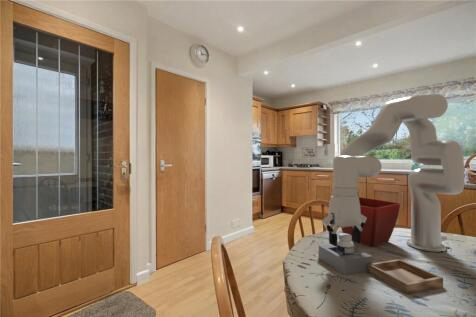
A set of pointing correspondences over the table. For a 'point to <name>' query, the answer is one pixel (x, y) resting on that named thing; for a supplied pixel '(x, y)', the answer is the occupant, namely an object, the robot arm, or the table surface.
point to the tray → (405, 276)
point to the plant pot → (376, 221)
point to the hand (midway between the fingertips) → (344, 243)
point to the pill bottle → (345, 245)
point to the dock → (344, 260)
